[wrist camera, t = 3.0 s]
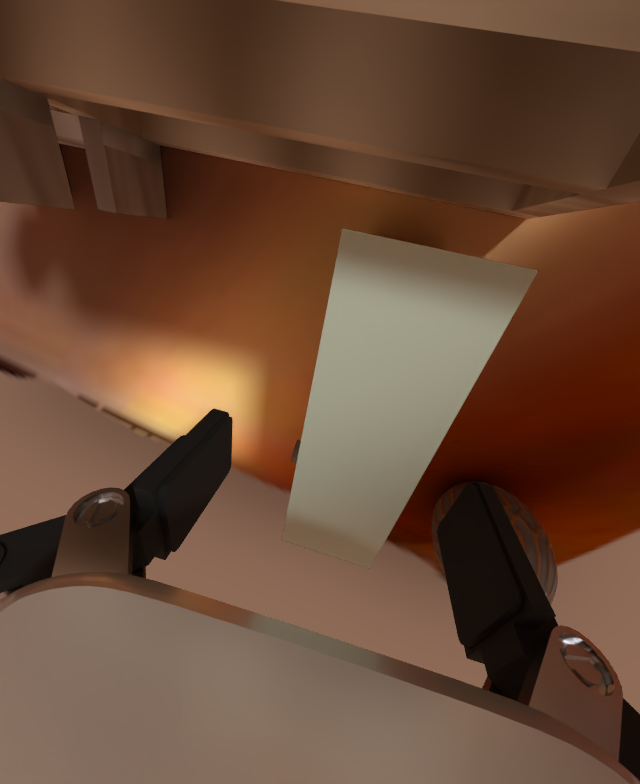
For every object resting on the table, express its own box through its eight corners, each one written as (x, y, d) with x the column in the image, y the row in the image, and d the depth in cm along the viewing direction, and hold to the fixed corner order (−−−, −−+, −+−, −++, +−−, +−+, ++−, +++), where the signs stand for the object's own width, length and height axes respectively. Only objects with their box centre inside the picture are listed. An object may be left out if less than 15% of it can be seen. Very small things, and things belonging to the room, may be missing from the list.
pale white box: (444, 252, 14) (538, 270, 5) (376, 429, 20) (369, 568, 11) (353, 232, 14) (305, 219, 6) (315, 412, 20) (264, 534, 12)
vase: (442, 531, 24) (468, 665, 16) (412, 478, 21) (427, 604, 14) (532, 519, 21) (614, 673, 13) (509, 456, 19) (591, 600, 11)
